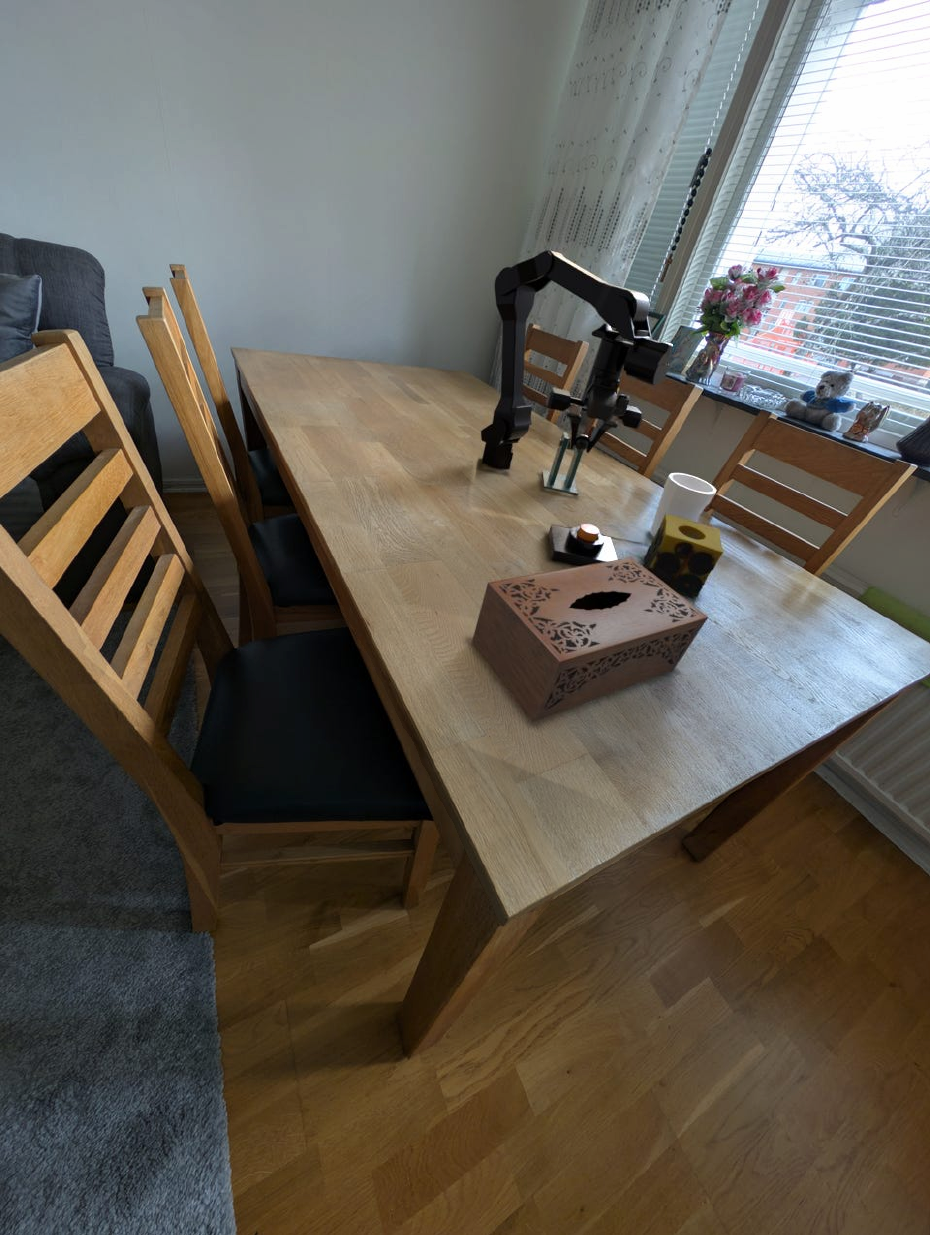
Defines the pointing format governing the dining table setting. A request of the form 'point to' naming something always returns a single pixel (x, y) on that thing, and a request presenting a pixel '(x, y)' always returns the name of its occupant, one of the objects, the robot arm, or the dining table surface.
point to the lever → (579, 443)
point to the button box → (579, 547)
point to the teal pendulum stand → (558, 480)
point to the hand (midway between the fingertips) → (579, 450)
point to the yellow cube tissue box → (683, 554)
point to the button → (588, 532)
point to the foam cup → (683, 498)
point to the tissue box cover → (582, 633)
